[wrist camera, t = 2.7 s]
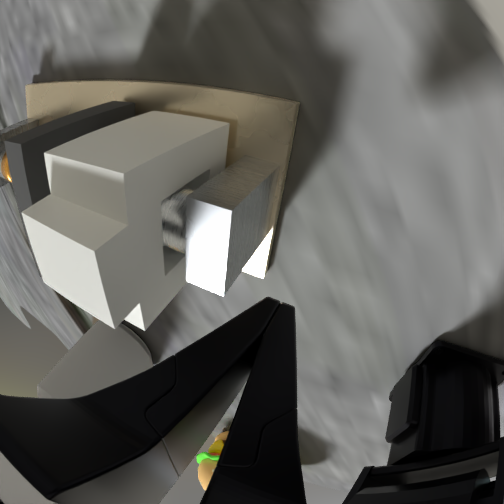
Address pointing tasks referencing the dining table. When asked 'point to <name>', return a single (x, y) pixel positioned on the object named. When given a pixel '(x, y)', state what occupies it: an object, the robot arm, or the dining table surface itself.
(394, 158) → the dining table surface
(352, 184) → the dining table surface
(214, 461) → the hamburger
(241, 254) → the beige mechanical fixture
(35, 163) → the block
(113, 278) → the bracket
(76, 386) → the can
